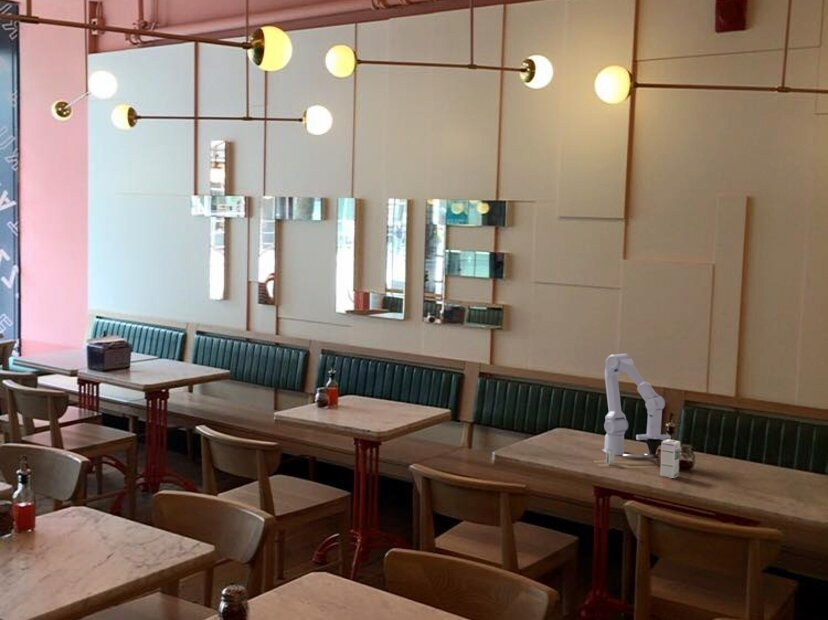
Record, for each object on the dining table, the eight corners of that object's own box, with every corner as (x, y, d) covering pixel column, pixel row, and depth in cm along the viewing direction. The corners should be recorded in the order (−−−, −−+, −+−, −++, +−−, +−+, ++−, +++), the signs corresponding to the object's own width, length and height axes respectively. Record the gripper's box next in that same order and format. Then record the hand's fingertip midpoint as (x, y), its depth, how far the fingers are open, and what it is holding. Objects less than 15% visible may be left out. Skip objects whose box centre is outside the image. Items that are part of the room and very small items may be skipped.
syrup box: (673, 479, 377) (675, 443, 376) (659, 476, 381) (661, 440, 379) (678, 476, 382) (681, 441, 380) (664, 473, 385) (667, 438, 384)
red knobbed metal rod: (624, 465, 393) (625, 451, 393) (619, 461, 399) (620, 447, 398) (665, 465, 396) (666, 451, 395) (659, 461, 401) (660, 447, 401)
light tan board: (592, 461, 401) (592, 460, 401) (648, 461, 404) (648, 460, 404) (601, 469, 389) (601, 467, 389) (659, 468, 392) (659, 467, 392)
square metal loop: (603, 462, 398) (604, 448, 398) (610, 462, 399) (611, 448, 398) (608, 465, 392) (609, 452, 392) (615, 465, 393) (616, 452, 392)
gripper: (641, 427, 394) (639, 459, 395) (674, 427, 396) (672, 458, 397) (635, 423, 401) (633, 454, 402) (667, 423, 403) (665, 454, 404)
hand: (652, 456), depth 400 cm, fingers closed
